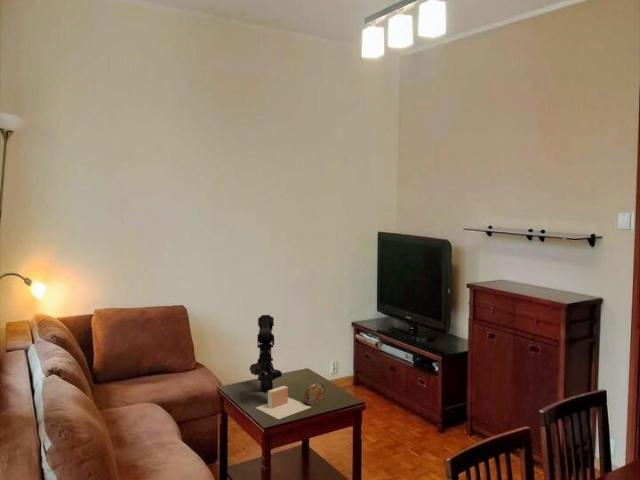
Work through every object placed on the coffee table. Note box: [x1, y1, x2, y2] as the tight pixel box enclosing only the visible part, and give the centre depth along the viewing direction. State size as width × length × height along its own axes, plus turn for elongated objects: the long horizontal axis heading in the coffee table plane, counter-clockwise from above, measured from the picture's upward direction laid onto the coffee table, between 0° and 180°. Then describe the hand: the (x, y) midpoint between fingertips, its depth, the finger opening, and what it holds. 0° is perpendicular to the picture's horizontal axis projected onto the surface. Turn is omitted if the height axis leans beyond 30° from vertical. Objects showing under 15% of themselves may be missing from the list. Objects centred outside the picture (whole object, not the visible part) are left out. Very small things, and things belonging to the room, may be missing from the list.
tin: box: [304, 382, 325, 406], centre depth 263 cm, size 15×3×8 cm, turn 148°
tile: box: [267, 385, 289, 409], centre depth 257 cm, size 3×10×8 cm, turn 133°
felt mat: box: [255, 396, 312, 420], centre depth 255 cm, size 18×20×1 cm
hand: (266, 387), depth 264 cm, fingers closed
